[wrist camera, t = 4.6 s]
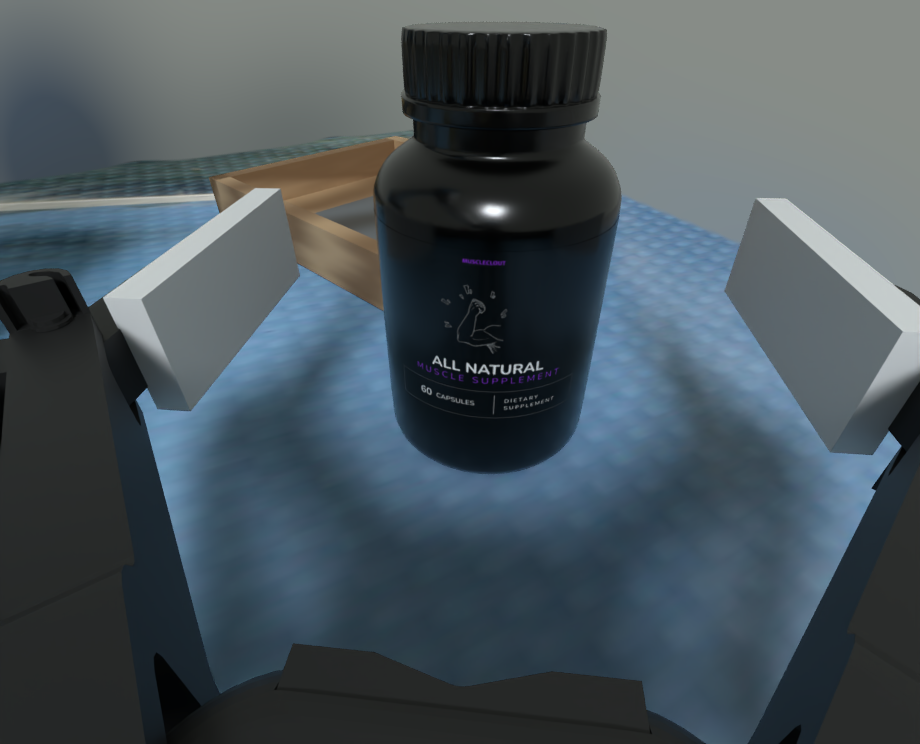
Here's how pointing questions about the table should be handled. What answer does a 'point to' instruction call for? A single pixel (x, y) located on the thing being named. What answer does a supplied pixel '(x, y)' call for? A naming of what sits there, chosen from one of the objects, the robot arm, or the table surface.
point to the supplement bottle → (495, 239)
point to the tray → (325, 210)
